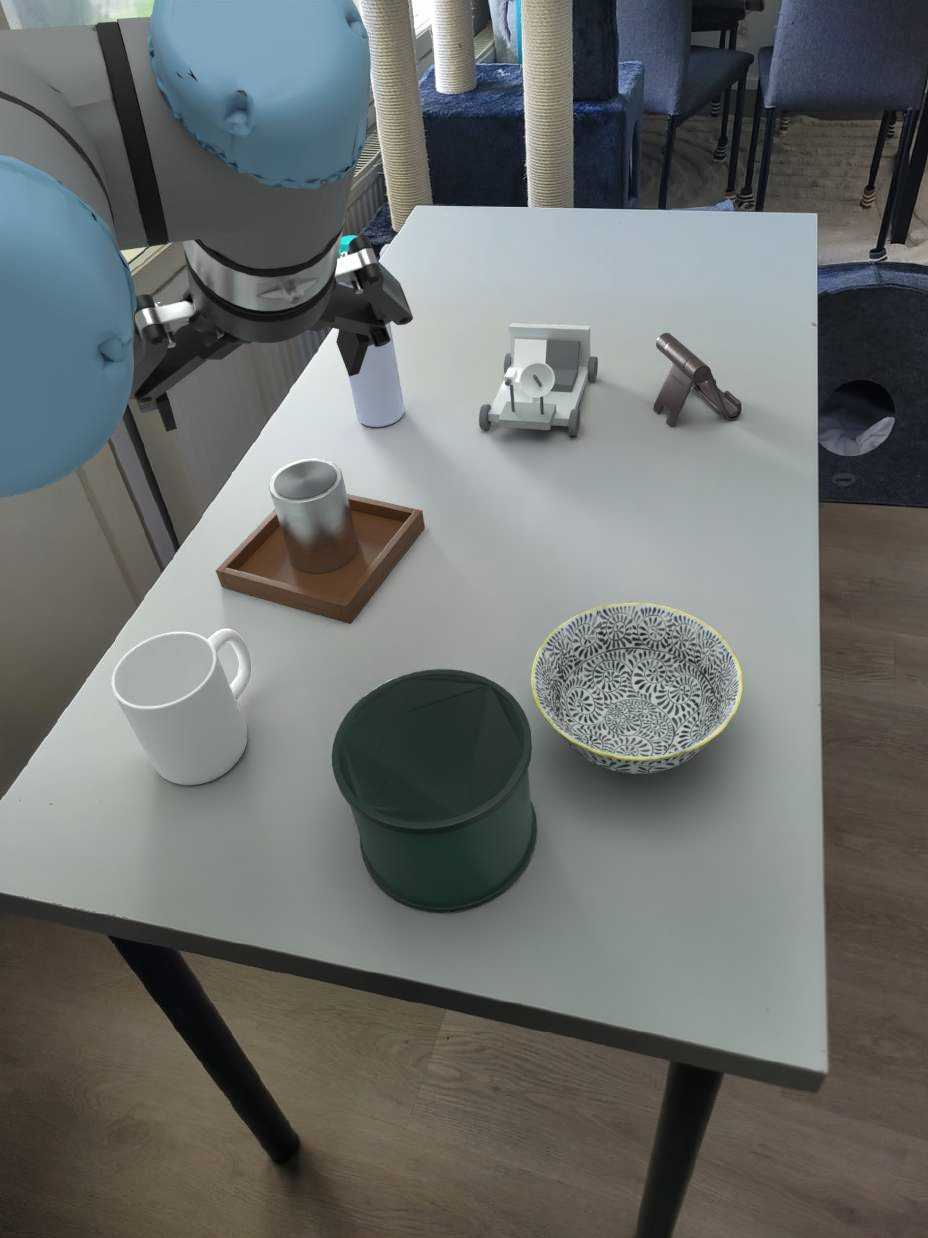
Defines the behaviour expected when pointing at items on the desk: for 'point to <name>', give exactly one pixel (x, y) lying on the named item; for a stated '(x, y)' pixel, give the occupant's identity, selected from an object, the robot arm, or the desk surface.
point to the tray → (333, 593)
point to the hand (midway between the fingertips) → (258, 384)
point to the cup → (185, 703)
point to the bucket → (439, 788)
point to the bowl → (636, 685)
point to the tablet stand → (690, 382)
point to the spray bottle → (376, 379)
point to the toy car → (542, 378)
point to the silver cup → (314, 515)
